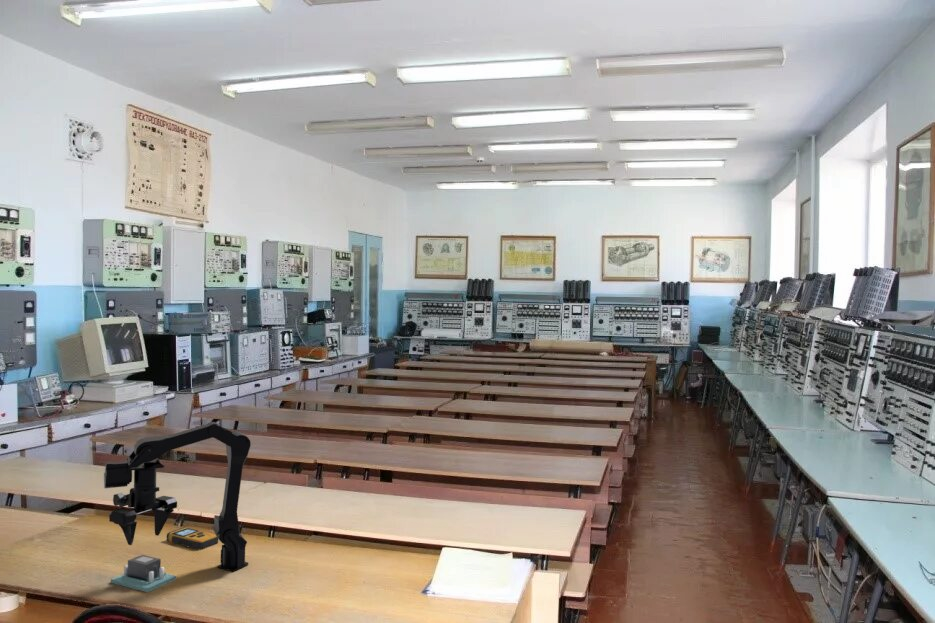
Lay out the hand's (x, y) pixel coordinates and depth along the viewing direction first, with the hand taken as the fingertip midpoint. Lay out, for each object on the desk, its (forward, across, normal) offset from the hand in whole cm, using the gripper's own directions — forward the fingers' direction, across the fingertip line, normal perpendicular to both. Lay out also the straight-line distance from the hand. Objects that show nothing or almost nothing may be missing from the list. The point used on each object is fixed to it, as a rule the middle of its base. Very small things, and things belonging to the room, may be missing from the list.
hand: (143, 540), depth 203 cm
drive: (+11, 0, 0) cm, 11 cm away
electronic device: (+12, -30, -12) cm, 35 cm away
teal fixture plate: (+12, 0, 0) cm, 12 cm away
